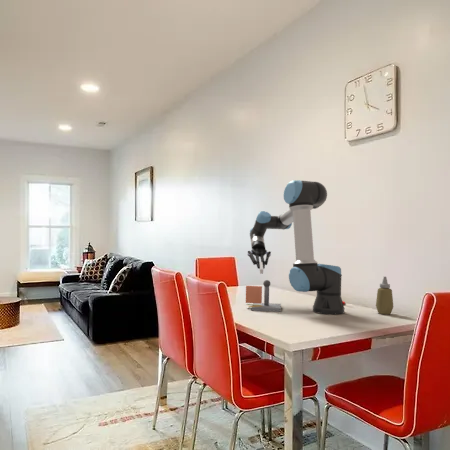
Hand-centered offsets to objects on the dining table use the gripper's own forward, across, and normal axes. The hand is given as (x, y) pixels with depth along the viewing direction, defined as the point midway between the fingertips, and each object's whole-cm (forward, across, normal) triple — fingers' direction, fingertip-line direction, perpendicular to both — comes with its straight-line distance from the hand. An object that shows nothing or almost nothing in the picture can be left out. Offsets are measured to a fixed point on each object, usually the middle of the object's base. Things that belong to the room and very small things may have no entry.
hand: (261, 271), depth 220 cm
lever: (+12, +2, -12) cm, 17 cm away
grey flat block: (+13, -1, -13) cm, 19 cm away
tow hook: (-3, -44, -24) cm, 50 cm away
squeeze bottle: (+21, -59, -8) cm, 63 cm away
